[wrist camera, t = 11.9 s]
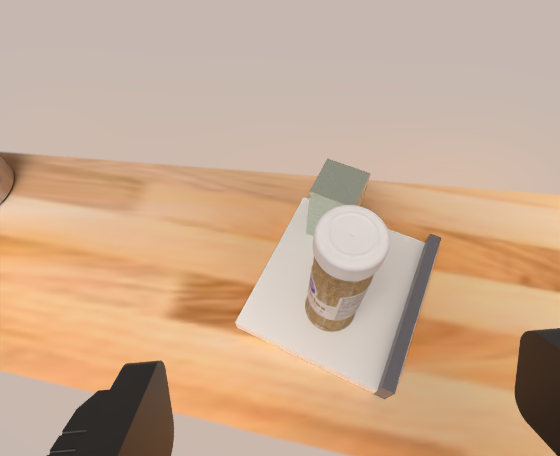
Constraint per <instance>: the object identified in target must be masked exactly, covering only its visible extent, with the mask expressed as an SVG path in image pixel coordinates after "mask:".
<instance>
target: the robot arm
mask: <svg viewBox="0 0 560 456" xmlns="http://www.w3.org/2000/svg"><path fill="white" fill-rule="evenodd" d="M13 182H14V174H13V170H12V169H11V167H10V166H9V165H8V163H7V162H6V161H5V160H4V159H3V158H2V157H1V156H0V203H1V202H2V201H3V200H4V199H5V198H6V197H7V195H8V193H9V192H10V190H11V188H12V185H13ZM515 399H516V403H517V406H518V409H519V411H520V413H521V415H522V416H523V418H524V419H525V421H526V422H527V423H528V424H529V425H530V426H531V427H532V429H533V430H534V431H535V432H536V433H537V434H538V435H539V436H540V437H541V438H542V439H543V440H544V442H545V443H546V444H547V445H548V446H549V447H550V448H551V449H552V450H553V451H554V452H555V453H556V455H557V456H560V328H557V329H545V330H533V331H527V332H525V333H524V334H523V335H522V337H521V340H520V347H519V356H518V365H517V374H516V383H515ZM62 432H63V433H62V436H59V437H58V439H57V440H56V442H55V443H54V445H53V447H52V448H51V449H50V455H47V456H171V452H172V448H173V439H174V422H173V415H172V408H171V402H170V395H169V389H168V382H167V376H166V369H165V365H164V363H163V362H162V361H151V362H139V363H127V364H125V365H124V366H123V368H122V369H121V371H120V373H119V375H118V376H117V378H116V380H115V382H114V383H113V385H112V387H111V389H110V390H101V391H97V392H96V393H95V394H94V395H93V396H92V397H91V398H89V399H88V400H87V401H86V402H85V403H84V404H82V405H81V406H80V407H79V408H78V409H76V411H75V413H74V414H73V416H72V417H71V419H70V420H69V422H68V423H67V425H66V426H65V428H64V429H63V431H62Z"/></svg>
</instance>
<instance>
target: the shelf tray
mask: <svg viewBox="0 0 560 456" xmlns="http://www.w3.org/2000/svg"><path fill="white" fill-rule="evenodd" d="M308 206H309V199H308V198H305V197H304V198H303V199H302V201H301V203H300V205H299V207H298V209H297V210H296V212H295V214H294V216H293V218H292V220H291V221H290V223H289V225H288V227H287V229H286V231H285V232H284V234H283V236H282V238H281V240H280V242H279V243H278V245H277V247H276V249H275V251H274V253H273V254H272V256H271V258H270V260H269V262H268V264H267V265H266V267H265V269H264V271H263V273H262V275H261V276H260V278H259V280H258V282H257V284H256V286H255V287H254V289H253V291H252V293H251V295H250V297H249V298H248V300H247V302H246V304H245V306H244V308H243V309H242V311H241V313H240V315H239V317H238V319H237V320H236V322H235V323H236V326H237V328H239V329H241V330H243V331H245V332H247V333H249V334H251V335H253V336H255V337H257V338H260V339H262V340H264V341H266V342H268V343H270V344H272V345H274V346H276V347H278V348H280V349H282V350H284V351H286V352H288V353H291V354H293V355H295V356H297V357H299V358H301V359H303V360H305V361H307V362H309V363H311V364H313V365H315V366H317V367H319V368H322V369H324V370H326V371H328V372H330V373H332V374H334V375H336V376H338V377H340V378H342V379H344V380H346V381H348V382H350V383H353V384H355V385H357V386H359V387H361V388H363V389H365V390H367V391H369V392H371V393H373V394H375V395H377V396H379V397H381V398H384V399H386V398H388V397H390V396H391V395H393V394H395V390H396V387H397V384H398V382H399V379H400V376H401V372H402V369H403V366H404V362H405V359H406V356H407V352H408V349H409V346H410V342H411V339H412V336H413V332H414V329H415V326H416V322H417V319H418V315H419V312H420V309H421V305H422V302H423V299H424V295H425V292H426V289H427V285H428V282H429V279H430V275H431V272H432V269H433V265H434V262H435V259H436V255H437V252H438V247H439V243H440V240H441V237H438V236H435V235H432V234H430V236H429V237H428V239H427V240H426V242H422V241H420V240H417V239H414V238H412V237H409V236H406V235H404V234H401V233H398V232H396V231H393V230H390V229H388V231H389V235H390V246H389V251H388V253H387V255H386V258H385V260H384V262H383V264H382V266H381V267H380V268H379V270H378V271H377V272H376V273H375V274H374V275H373V278H372V281H371V284H370V286H369V288H368V290H367V292H366V294H365V296H364V298H363V300H362V302H361V304H360V306H359V307H358V309H357V311H356V312H355V315H354V319H353V321H352V322H351V323H350V325H349V326H347V327H346V328H345V329H342V330H341V331H335V332H329V331H324V330H321V329H319V328H317V327H316V326H315V325H314V324H313V323H312V322H311V321H310V320H309V318H308V316H307V314H306V310H305V302H306V298H307V295H308V286H309V281H310V275H311V268H312V266H313V259H314V253H313V237H314V236H311V235H309V234H306V228H307V217H308Z"/></svg>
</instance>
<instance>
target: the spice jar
mask: <svg viewBox="0 0 560 456" xmlns="http://www.w3.org/2000/svg"><path fill="white" fill-rule="evenodd" d="M389 246H390V235H389V231H388V228H387V226H386V225H385V223H384V222H383V220H382V219H381V218H380V217H379V216H378V215H377V214H375V213H374V212H372V211H371V210H369V209H367V208H364V207H361V206H357V205H342V206H338V207H335V208H333V209H331V210H329V211H327V212H326V213H325V214H324V215H323V216H322V217H321V218H320V219H319V221H318V223H317V225H316V228H315V232H314V237H313V253H314V259H313V266H312V268H311V275H310V281H309V286H308V295H307V298H306V302H305V310H306V314H307V316H308V318H309V320H310V321H311V322H312V323H313V324H314V325H315V326H316V327H317V328H319V329H321V330H324V331H329V332H335V331H341V330H342V329H345V328H346V327H347V326H349V325H350V323H351V322H352V321H353V319H354V315H355V312H356V311H357V309H358V307H359V306H360V304H361V302H362V300H363V298H364V296H365V294H366V292H367V290H368V288H369V286H370V284H371V281H372V278H373V275H374V274H375V273H376V272H377V271H378V270H379V268H380V267H381V266H382V264H383V262H384V260H385V258H386V255H387V253H388V251H389Z"/></svg>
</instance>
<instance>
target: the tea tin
mask: <svg viewBox="0 0 560 456" xmlns="http://www.w3.org/2000/svg"><path fill="white" fill-rule="evenodd" d="M369 176H370V173H367V172H364V171H362V170H358V169H356V168H353V167H350V166H347V165H344V164H341V163H338V162H335V161H333V160H330V159H327V161H326V162H325V164H324V166H323V168H322V170H321V172H320V174H319V175H318V177H317V179H316V181H315V183H314V185H313V186H312V188H311V190H310V195H309V206H308V217H307V228H306V234H309V235H311V236H314V232H315V228H316V225H317V223H318V221H319V219H320V218H321V217H322V216H323V215H324V214H325V213H326V212H327V211H329V210H331V209H333V208H335V207H338V206H342V205H357V206H361V203H362V200H363V197H364V193H365V190H366V186H367V183H368V180H369Z"/></svg>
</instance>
